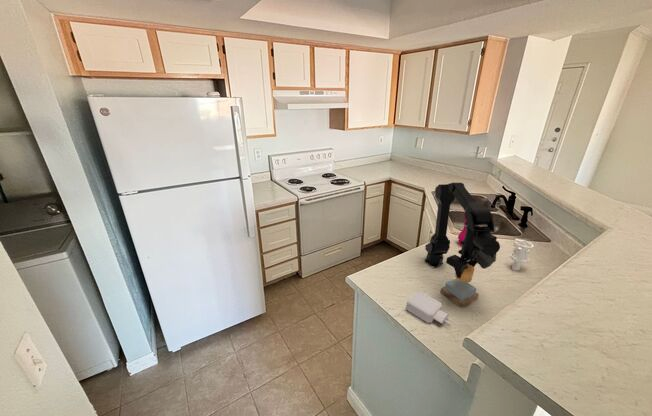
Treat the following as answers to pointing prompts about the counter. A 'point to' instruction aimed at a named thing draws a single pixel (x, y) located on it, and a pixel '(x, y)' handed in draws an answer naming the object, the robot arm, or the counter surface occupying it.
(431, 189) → the counter surface
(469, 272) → the orange cylinder
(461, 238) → the pepper mill
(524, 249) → the white tall piece
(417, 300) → the charger
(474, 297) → the tower base
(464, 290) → the block
